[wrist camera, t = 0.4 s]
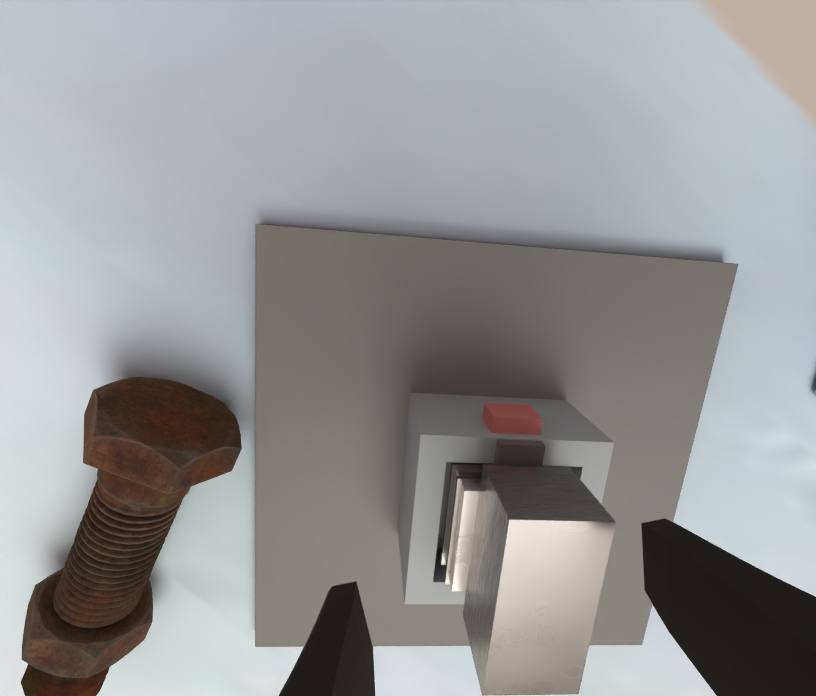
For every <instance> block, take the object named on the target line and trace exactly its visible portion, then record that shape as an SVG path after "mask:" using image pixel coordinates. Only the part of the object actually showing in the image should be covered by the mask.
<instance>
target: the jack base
mask: <svg viewBox="0 0 816 696" xmlns="http://www.w3.org/2000/svg"><path fill="white" fill-rule="evenodd" d="M737 267H738V264H733V263H722V262H710V261H698V260H686V259H674V258H662V257H650V256H638V255H626V254H614V253H602V252H590V251H578V250H566V249H553V248H541V247H529V246H517V245H505V244H493V243H481V242H469V241H457V240H445V239H433V238H421V237H409V236H397V235H384V234H372V233H360V232H348V231H336V230H324V229H312V228H300V227H288V226H276V225H264V224H256V289H255V647H301V646H305V644H306V642H307V640H308V638H309V636H310V633H311V631H312V629H313V627H314V624H315V622H316V620H317V618H318V615H319V613H320V611H321V608H322V606H323V603H324V601H325V599H326V596H327V593H328V591H329V590H330V588H331V587H332V586H335V585H340V584H345V583H350V582H355V581H357V585H358V589H359V594H360V598H361V602H362V606H363V610H364V614H365V618H366V622H367V626H368V630H369V634H370V638H371V642H372V646H470V643H469V639H468V634H467V630H466V626H465V622H464V618H463V609H464V601H465V594H466V591H452V589H451V585H450V584H445V581H444V579H445V570H446V565H441V562H440V560H441V551H442V548H437V542H438V533H439V524H440V515H441V506H442V497H443V488H444V479H445V470H446V462H459V463H487V464H495V465H520V466H542V465H545V466H565V467H570V468H571V469H572V470H573V471H574V472H575V474H576V475H577V476H578V477H579V478H580V480H581V481H582V482H583V483H584V484H585V486H586V487H587V488H588V489H589V490H590V492H591V493H592V494H593V495H594V496H595V498H596V499H597V500H598V501H599V502H600V503H601V505H602V506H603V507H604V508H605V509H606V511H607V512H608V513H609V514H610V515H611V517H612V518H613V519H614V520H615V521H616V525H615V529H614V534H613V538H612V543H611V547H610V552H609V557H608V561H607V566H606V570H605V575H604V579H603V584H602V589H601V593H600V598H599V602H598V607H597V611H596V616H595V621H594V625H593V630H592V634H591V639H590V643H589V645H642V643H643V639H644V635H645V631H646V627H647V623H648V619H649V615H650V611H651V607H652V602H651V601H650V599H649V597H648V595H647V594H646V592H645V589H644V568H643V547H642V527H641V523H644V522H649V521H654V520H659V519H664V518H665V519H667V520H669V521H671V522H673V520H674V516H675V512H676V508H677V504H678V500H679V496H680V492H681V488H682V484H683V481H684V477H685V473H686V469H687V465H688V461H689V457H690V453H691V449H692V445H693V441H694V437H695V433H696V429H697V425H698V421H699V417H700V413H701V409H702V405H703V401H704V398H705V394H706V390H707V386H708V382H709V378H710V374H711V370H712V366H713V362H714V358H715V354H716V350H717V346H718V342H719V338H720V334H721V330H722V326H723V322H724V318H725V315H726V311H727V307H728V303H729V299H730V295H731V291H732V287H733V283H734V279H735V275H736V271H737Z"/></svg>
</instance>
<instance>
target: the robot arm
mask: <svg viewBox="0 0 816 696" xmlns="http://www.w3.org/2000/svg"><path fill="white" fill-rule="evenodd" d="M815 393H816V392H815ZM641 527H642V547H643V568H644V589H645V592H646V594H647V595H648V597H649V599H650V601H651V602H652V604H653V606H654V607H655V609H656V611H657V613H658V614H659V616H660V618H661V619H662V621H663V622H664V624H665V626H666V627H667V629H668V631H669V632H670V634H671V635H672V636H673V638H674V639H675V640H676V642H677V643H678V645H679V646H680V647H681V649H682V650H683V651H684V653H685V654H686V655H687V657H688V658H689V659H690V661H691V662H692V663H693V665H694V666H695V667H696V669H697V670H698V671H699V673H700V674H701V675H702V677H703V678H704V679H705V681H706V682H707V683H708V685H709V686H710V687H711V689H712V690H713V691H714V693H715V694H716V695H717V696H816V597H815V596H813V595H811V594H809V593H807V592H804V591H802V590H800V589H798V588H796V587H794V586H792V585H790V584H788V583H786V582H784V581H782V580H780V579H778V578H776V577H774V576H772V575H770V574H768V573H766V572H764V571H762V570H760V569H758V568H756V567H754V566H752V565H751V564H749V563H747V562H745V561H743V560H741V559H739V558H737V557H736V556H734V555H732V554H730V553H728V552H726V551H724V550H723V549H721V548H719V547H717V546H715V545H714V544H712V543H710V542H708V541H706V540H704V539H703V538H701V537H699V536H697V535H695V534H694V533H692V532H690V531H688V530H686V529H685V528H683V527H681V526H679V525H677V524H675V523H673V522H671V521H669V520H667V519H665V518H664V519H659V520H654V521H649V522H644V523H641ZM279 696H375V682H374V662H373V646H372V642H371V638H370V634H369V630H368V626H367V622H366V618H365V614H364V610H363V606H362V602H361V598H360V594H359V589H358V585H357V581H355V582H350V583H345V584H340V585H335V586H332V587H331V588H330V590H329V591H328V593H327V596H326V599H325V601H324V603H323V606H322V608H321V611H320V613H319V615H318V618H317V620H316V622H315V624H314V627H313V629H312V631H311V633H310V636H309V638H308V640H307V642H306V644H305V646H304V648H303V650H302V652H301V654H300V656H299V658H298V660H297V662H296V664H295V666H294V668H293V670H292V672H291V674H290V676H289V678H288V680H287V682H286V683H285V685H284V687H283V689H282V691H281V692H280V694H279Z"/></svg>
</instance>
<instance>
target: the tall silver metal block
mask: <svg viewBox="0 0 816 696" xmlns="http://www.w3.org/2000/svg"><path fill="white" fill-rule="evenodd" d="M615 525H616V521H615V520H614V519H613V518H612V517H611V515H610V514H609V513H608V512H607V511H606V509H605V508H604V507H603V506H602V505H601V503H600V502H599V501H598V500H597V499H596V498H595V496H594V495H593V494H592V493H591V492H590V490H589V489H588V488H587V487H586V486H585V484H584V483H583V482H582V481H581V480H580V478H579V477H578V476H577V475H576V474H575V472H574V471H573V470H572V469H571V468H570V467H565V466H545V465H542V466H520V465H495V464H487V463H459V462H446V470H445V479H444V488H443V497H442V506H441V515H440V524H439V533H438V542H437V548H442V551H441V560H440V562H441V565H446V570H445V579H444V581H445V584H450V585H451V589H452V591H466V594H465V601H464V609H463V618H464V622H465V626H466V630H467V634H468V639H469V643H470V647H471V651H472V655H473V659H474V663H475V668H476V672H477V676H478V680H479V684H480V688H481V692H482V696H486V695H550V694H579V689H580V685H581V680H582V675H583V671H584V666H585V662H586V657H587V653H588V648H589V643H590V639H591V634H592V630H593V625H594V621H595V616H596V611H597V607H598V602H599V598H600V593H601V589H602V584H603V579H604V575H605V570H606V566H607V561H608V557H609V552H610V547H611V543H612V538H613V534H614V529H615Z"/></svg>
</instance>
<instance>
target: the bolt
mask: <svg viewBox="0 0 816 696" xmlns="http://www.w3.org/2000/svg"><path fill="white" fill-rule="evenodd" d="M241 449H242V448H241V435H240V430H239V425H238V422H237V419H236V417H235V415H234V414H233V413H232V412H231V411H230V410H229V409H228V408H227V407H225V406H224V405H223V404H222V403H221V402H219V401H218V400H216V399H215V398H214V397H212V396H210V395H208V394H206V393H203V392H201V391H198V390H196V389H194V388H192V387H189V386H187V385H184V384H181V383H177V382H172V381H168V380H161V379H153V378H145V377H132V378H126V379H122V380H119V381H115V382H112V383H109V384H107V385H104V386H102V387H100V388H97V389H95V390H93V392H92V395H91V398H90V400H89V403H88V406H87V409H86V411H85V414H84V455H83V463H84V464H87V465H90V466H93V467H95V468H98V473H97V477H98V480H97V482H96V484H95V487H94V489H93V493H92V495H91V498H90V500H89V503H88V506H87V508H86V511H85V514H84V515H83V519H82V521H81V523H80V526H79V528H78V531H77V534H76V537H75V541H74V543H73V546H72V548H71V551H70V553H69V556H68V559H67V561H66V563H65V567H64V568H63V569H61V570H59V571H57V572H55V573H54V574H52V575H50V576H49V577H47V578H46V579H44V580H43V581H41V582H40V583H38V584H36V585H35V588H34V590H33V593H32V596H31V599H30V601H29V604H28V609H27V615H26V620H25V626H24V633H23V643H22V660H23V661H25V662H27V663H28V666H27V669H26V671H25V673H24V676H23V678H22V681H21V685H22V687H23V691H24V694H25V696H96V695H97V694H98V692H99V691H100V689H101V687H102V685H103V682H104V680H105V678H106V675H107V673H108V670H109V667H110V666H111V665H113V664H115V663H116V662H117V661H119V660H120V659H121V658H123V657H124V656H125V655H127V654H128V653H129V652H131V651H132V650H133V649H134V648H135V647H136V646H137V645H139V644H140V643H141V642H142V641H143V640H144V639H145V637H146V635H147V632H148V630H149V628H150V626H151V623H152V617H153V598H152V588H151V584H150V581H149V576H150V574H151V571H152V568H153V566H154V564H155V561H156V559H157V557H158V555H159V553H160V550H161V548H162V545H163V543H164V542H165V538H166V536H167V534H168V531H169V530H170V527H171V525H172V523H173V520H174V518H175V516H176V513H177V511H178V509H179V506H180V505H181V502H182V499H183V497H184V496H185V495H186V494H187V493H188V491H189V489H190V487H191V486H193V485H196V484H198V483H201V482H204V481H206V480H209V479H212V478H214V477H217V476H219V475H222V474H225V473H227V472H230V471H232V469H233V467H234V464H235V462H236V460H237V458H238V455H239V453H240V451H241Z"/></svg>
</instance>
